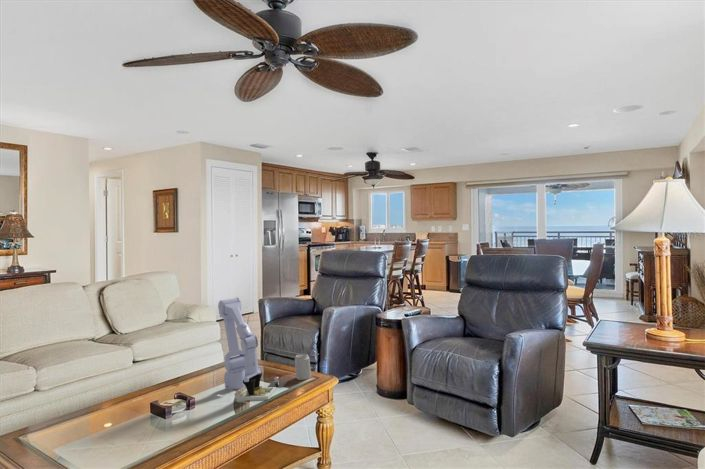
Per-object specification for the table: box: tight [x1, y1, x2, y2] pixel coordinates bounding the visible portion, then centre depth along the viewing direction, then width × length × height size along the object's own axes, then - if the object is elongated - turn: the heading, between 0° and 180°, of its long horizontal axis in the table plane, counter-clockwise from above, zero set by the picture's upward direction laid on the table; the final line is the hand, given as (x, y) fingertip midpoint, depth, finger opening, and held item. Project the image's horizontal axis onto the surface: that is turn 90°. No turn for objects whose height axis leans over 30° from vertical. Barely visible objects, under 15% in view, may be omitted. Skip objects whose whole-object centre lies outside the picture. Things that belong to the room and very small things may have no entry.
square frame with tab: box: [246, 385, 267, 396], centre depth 195 cm, size 8×5×2 cm
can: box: [294, 353, 312, 381], centre depth 214 cm, size 8×8×12 cm
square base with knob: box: [266, 376, 288, 389], centre depth 207 cm, size 8×8×4 cm
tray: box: [235, 387, 278, 403], centre depth 195 cm, size 15×11×2 cm
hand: (254, 392), depth 195 cm, fingers closed on square frame with tab, 5 cm apart
